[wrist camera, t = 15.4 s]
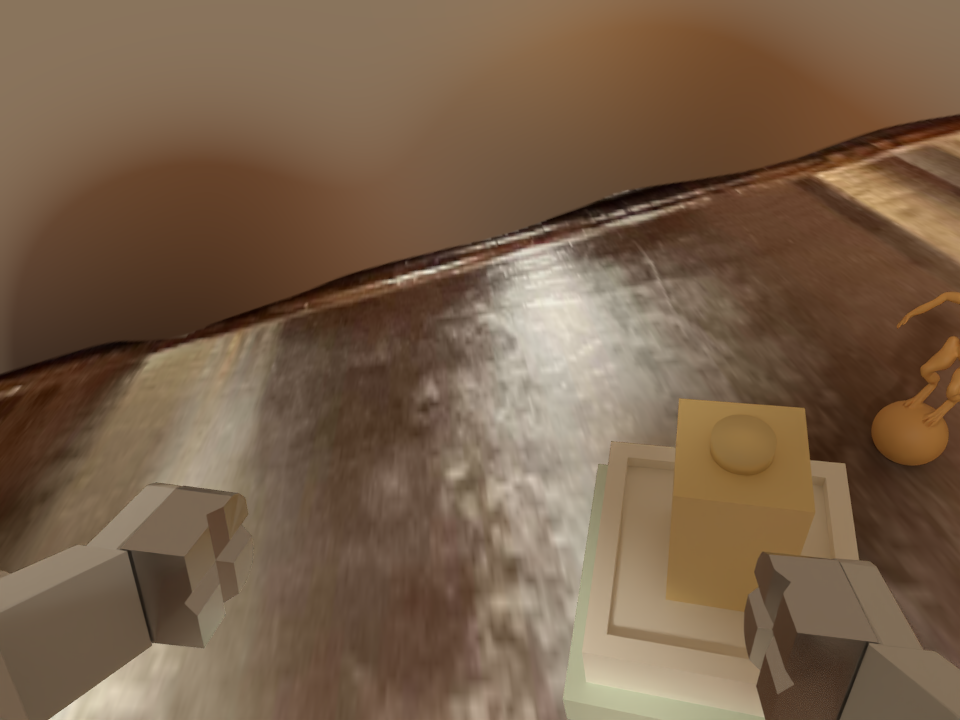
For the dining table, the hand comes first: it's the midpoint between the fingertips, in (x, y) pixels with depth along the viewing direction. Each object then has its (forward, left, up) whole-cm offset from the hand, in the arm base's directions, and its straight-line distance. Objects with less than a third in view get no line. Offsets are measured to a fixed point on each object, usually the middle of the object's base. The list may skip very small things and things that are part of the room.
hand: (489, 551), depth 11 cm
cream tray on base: (+5, +13, -28) cm, 32 cm away
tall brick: (+5, +13, -22) cm, 26 cm away
